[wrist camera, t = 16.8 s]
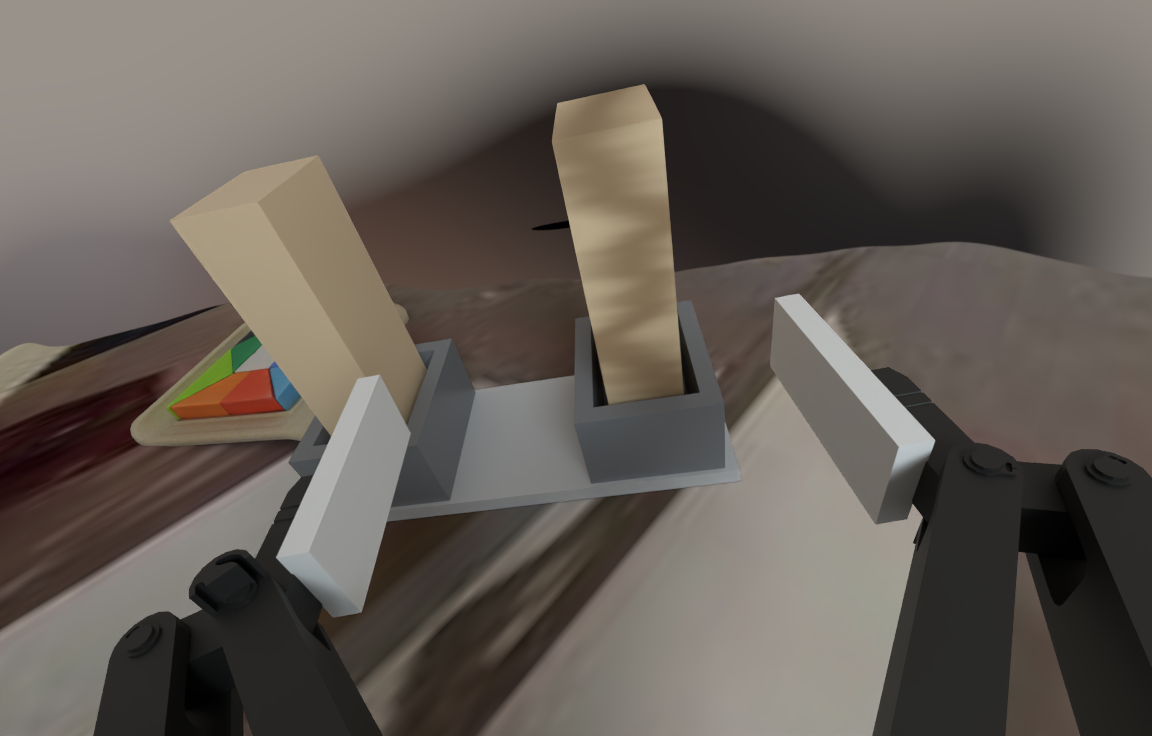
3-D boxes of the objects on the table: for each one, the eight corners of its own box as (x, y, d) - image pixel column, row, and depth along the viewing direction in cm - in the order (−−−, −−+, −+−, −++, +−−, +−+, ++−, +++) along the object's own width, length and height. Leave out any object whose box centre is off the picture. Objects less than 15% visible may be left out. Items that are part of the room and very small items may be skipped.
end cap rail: (329, 528, 31) (78, 254, 19) (378, 414, 39) (222, 167, 27) (739, 481, 28) (747, 117, 16) (705, 367, 35) (692, 63, 24)
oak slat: (620, 457, 29) (551, 141, 18) (614, 389, 34) (557, 103, 23) (688, 449, 29) (661, 118, 18) (673, 381, 34) (644, 84, 22)
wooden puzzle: (266, 327, 55) (246, 301, 53) (416, 317, 50) (402, 288, 48) (136, 450, 42) (103, 421, 40) (321, 452, 37) (296, 420, 35)
